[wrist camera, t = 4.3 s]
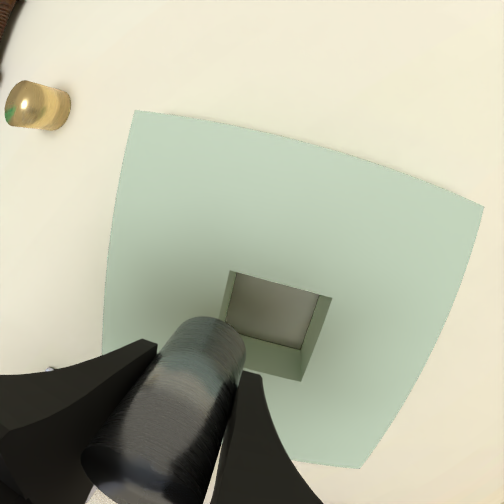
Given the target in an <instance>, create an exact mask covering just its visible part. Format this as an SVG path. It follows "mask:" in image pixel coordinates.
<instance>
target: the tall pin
mask: <svg viewBox="0 0 504 504" xmlns="http://www.w3.org/2000/svg"><path fill="white" fill-rule="evenodd" d="M245 360H246V348H245V344H244V342H243V339H242V338H241V336H240V335H239V333H238V332H237V331H236V330H235V329H234V328H233V327H232V326H230V325H229V324H227V323H226V322H224V321H222V320H220V319H217V318H213V317H207V316H199V317H194V318H190V319H188V320H186V321H185V322H183V323H182V324H181V325H180V326H179V327H178V328H177V329H176V331H175V332H174V333H173V334H172V336H171V337H170V338H169V340H168V341H167V342H166V343H165V345H164V346H163V347H162V349H161V350H160V351H159V353H158V354H157V355H156V356H155V358H154V359H153V360H152V362H151V363H150V364H149V365H148V367H147V368H146V369H145V371H144V372H143V373H142V375H141V376H140V377H139V378H138V380H137V381H136V382H135V384H134V385H133V386H132V388H131V389H130V390H129V392H128V393H127V394H126V395H125V397H124V398H123V399H122V401H121V402H120V403H119V405H118V406H117V407H116V409H115V410H114V411H113V412H112V414H111V415H110V416H109V418H108V419H107V420H106V422H105V423H104V424H103V426H102V427H101V428H100V430H99V431H98V432H97V434H96V435H95V436H94V438H93V439H92V440H91V441H90V443H89V444H88V445H87V447H86V448H85V449H84V451H83V452H82V454H81V464H82V467H83V469H84V471H85V473H86V475H87V476H88V478H89V479H90V480H91V481H92V483H93V484H94V485H95V486H96V487H97V488H98V489H99V490H100V491H101V492H103V493H104V494H105V495H106V496H108V497H109V498H110V499H112V500H113V501H115V502H116V503H118V504H203V502H204V499H205V496H206V492H207V489H208V486H209V483H210V479H211V476H212V473H213V470H214V466H215V463H216V460H217V457H218V453H219V450H220V447H221V443H222V440H223V437H224V433H225V430H226V426H227V423H228V420H229V416H230V413H231V409H232V405H233V402H234V398H235V395H236V391H237V388H238V384H239V381H240V377H241V374H242V370H243V368H244V364H245Z"/></svg>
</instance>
